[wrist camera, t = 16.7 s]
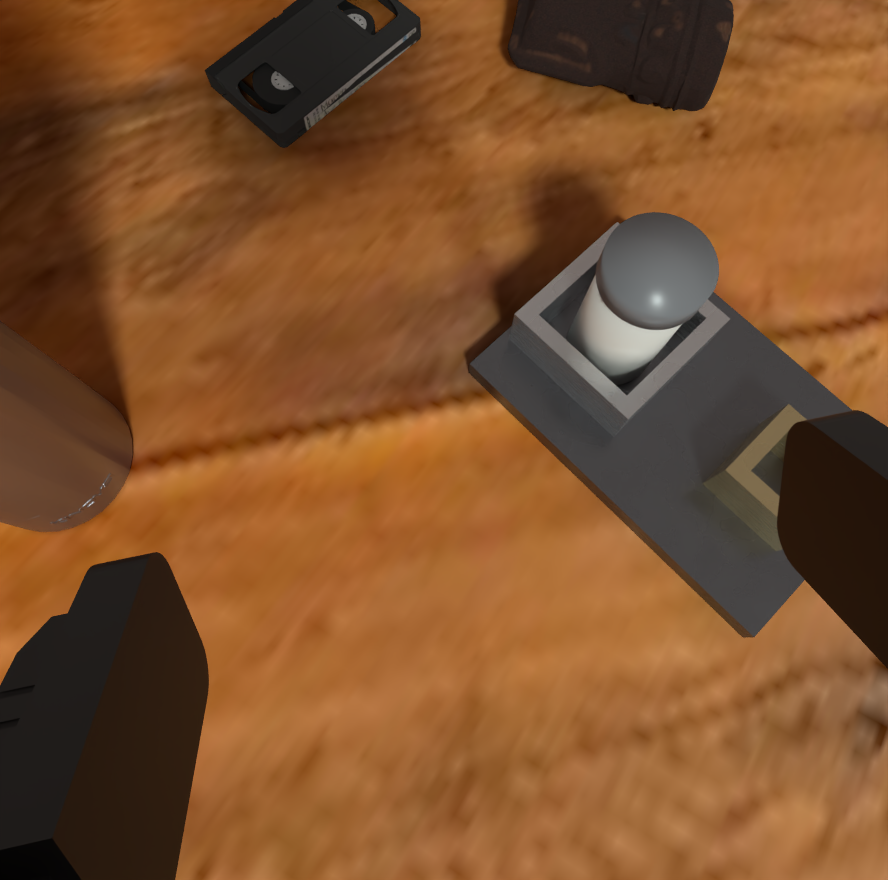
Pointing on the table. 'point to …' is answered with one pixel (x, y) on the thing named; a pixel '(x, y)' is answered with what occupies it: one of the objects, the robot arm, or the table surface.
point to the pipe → (627, 45)
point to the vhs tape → (310, 62)
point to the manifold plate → (670, 436)
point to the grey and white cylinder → (643, 293)
